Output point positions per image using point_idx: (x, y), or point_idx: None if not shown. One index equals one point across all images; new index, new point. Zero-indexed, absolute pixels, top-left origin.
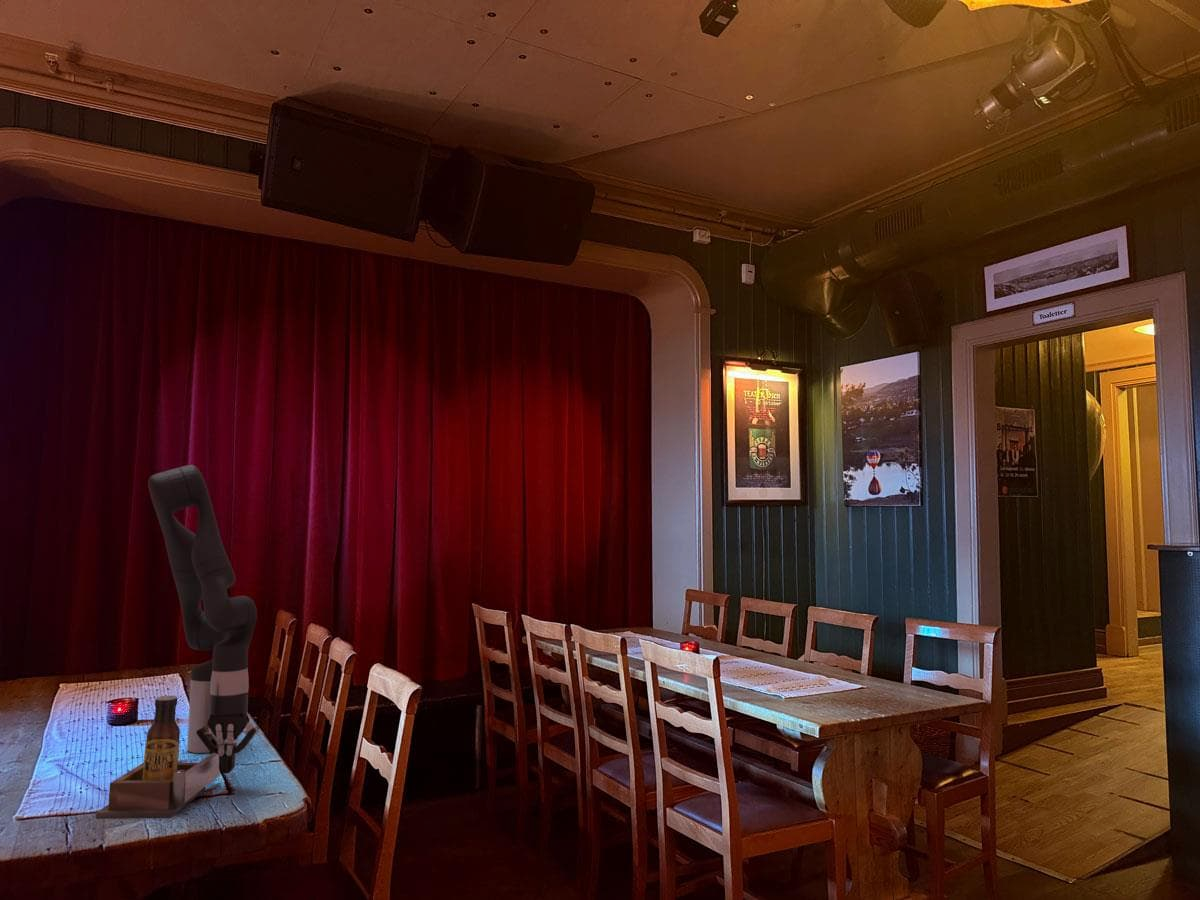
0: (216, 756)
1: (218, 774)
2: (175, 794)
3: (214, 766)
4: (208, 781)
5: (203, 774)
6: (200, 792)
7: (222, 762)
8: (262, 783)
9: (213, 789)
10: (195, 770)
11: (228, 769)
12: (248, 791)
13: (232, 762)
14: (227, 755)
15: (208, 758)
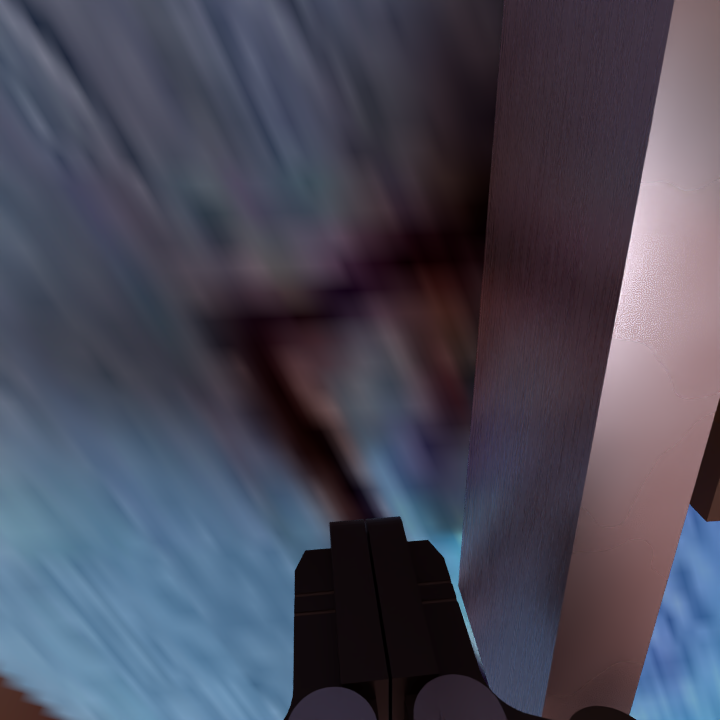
0: (534, 708)
1: (464, 580)
2: None
3: (503, 584)
4: (480, 402)
5: (536, 319)
6: None
7: (409, 603)
8: (106, 557)
9: (433, 417)
10: None
11: (331, 552)
12: (110, 389)
13: (295, 627)
14: (355, 692)
15: (606, 616)
